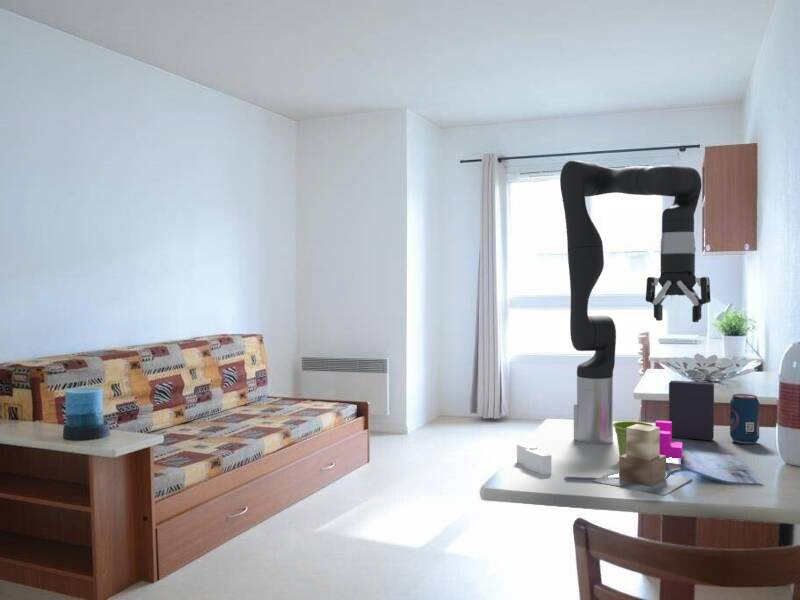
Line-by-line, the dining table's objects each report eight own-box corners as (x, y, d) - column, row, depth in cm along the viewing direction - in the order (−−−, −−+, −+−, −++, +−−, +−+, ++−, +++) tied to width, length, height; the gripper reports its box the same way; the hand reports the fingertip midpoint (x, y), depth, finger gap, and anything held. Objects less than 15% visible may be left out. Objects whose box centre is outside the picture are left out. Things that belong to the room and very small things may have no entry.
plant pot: (661, 461, 165) (662, 424, 164) (644, 469, 158) (644, 431, 158) (624, 454, 171) (624, 419, 171) (605, 462, 164) (606, 425, 164)
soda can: (726, 437, 188) (726, 393, 188) (753, 438, 188) (753, 393, 187) (735, 443, 181) (736, 397, 181) (763, 444, 181) (764, 398, 180)
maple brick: (626, 456, 146) (626, 427, 146) (636, 451, 150) (636, 423, 150) (649, 460, 143) (649, 431, 143) (659, 455, 147) (659, 427, 146)
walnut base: (592, 485, 146) (592, 456, 146) (624, 470, 157) (624, 444, 157) (664, 500, 136) (664, 469, 136) (692, 483, 147) (692, 455, 147)
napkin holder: (560, 483, 150) (559, 456, 149) (506, 480, 152) (506, 454, 152) (561, 465, 164) (561, 440, 164) (512, 462, 167) (511, 438, 167)
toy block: (681, 467, 160) (681, 434, 160) (652, 464, 163) (652, 432, 162) (682, 452, 174) (682, 422, 174) (655, 450, 177) (655, 420, 176)
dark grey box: (713, 437, 188) (714, 382, 188) (712, 441, 185) (713, 384, 184) (670, 434, 193) (670, 379, 193) (668, 437, 190) (668, 382, 189)
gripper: (641, 252, 166) (641, 321, 167) (703, 251, 156) (702, 323, 157) (654, 253, 172) (653, 319, 172) (714, 251, 162) (714, 321, 162)
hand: (677, 321), depth 165 cm, fingers open, 8 cm apart
